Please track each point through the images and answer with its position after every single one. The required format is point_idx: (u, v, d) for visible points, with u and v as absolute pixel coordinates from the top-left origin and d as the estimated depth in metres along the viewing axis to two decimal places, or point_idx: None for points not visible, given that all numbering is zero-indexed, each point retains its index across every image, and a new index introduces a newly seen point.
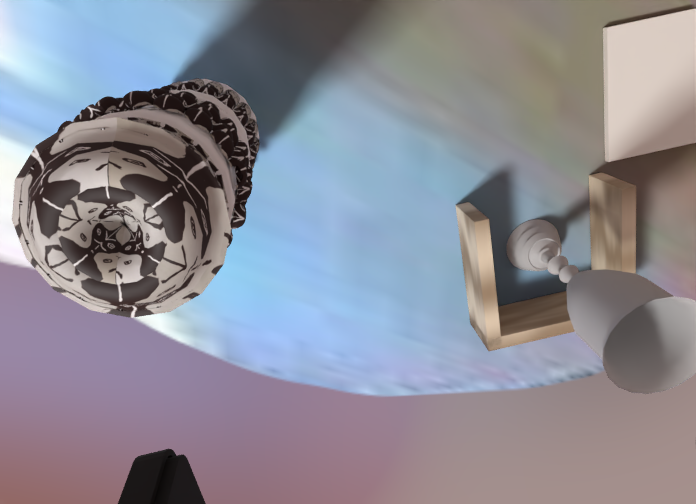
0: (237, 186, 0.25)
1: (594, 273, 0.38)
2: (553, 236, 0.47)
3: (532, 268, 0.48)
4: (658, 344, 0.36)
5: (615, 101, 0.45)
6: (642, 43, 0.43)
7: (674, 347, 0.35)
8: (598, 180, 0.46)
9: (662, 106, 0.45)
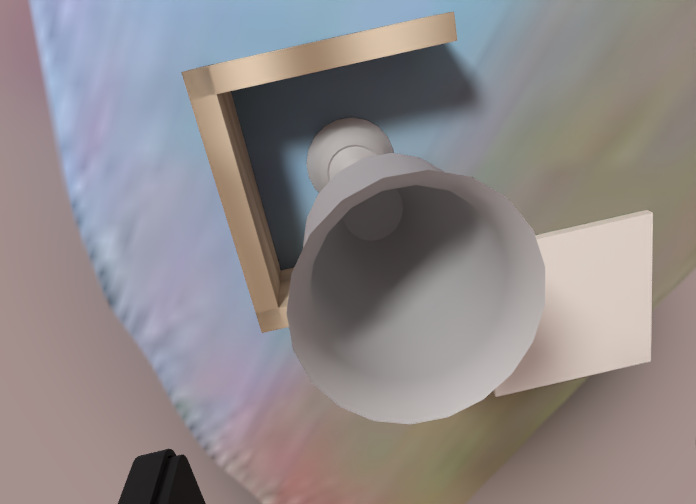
0: None
1: None
2: None
3: (327, 157, 0.28)
4: (343, 334, 0.17)
5: (559, 243, 0.33)
6: (625, 262, 0.34)
7: (357, 359, 0.17)
8: None
9: (544, 306, 0.34)
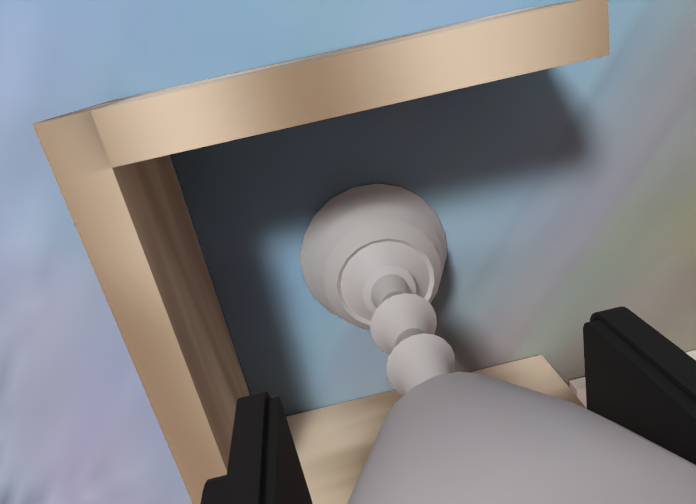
0: None
1: None
2: (430, 300, 0.17)
3: (337, 259, 0.16)
4: None
5: None
6: None
7: None
8: (557, 378, 0.19)
9: None
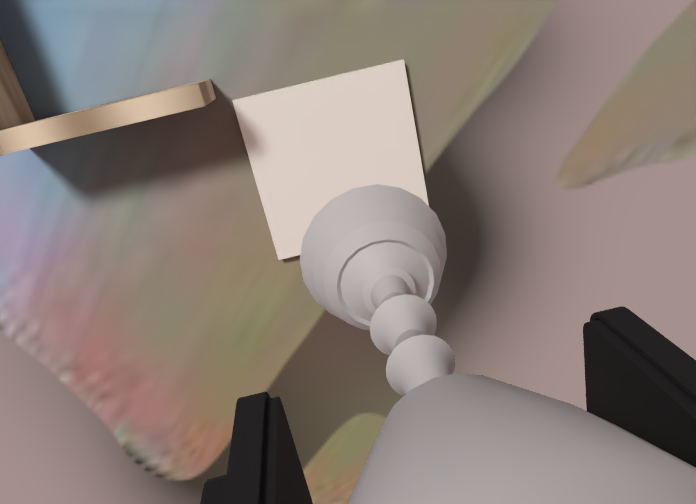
0: None
1: None
2: (430, 301, 0.17)
3: (337, 260, 0.16)
4: None
5: (314, 91, 0.34)
6: (385, 113, 0.34)
7: None
8: (204, 80, 0.32)
9: (310, 160, 0.35)
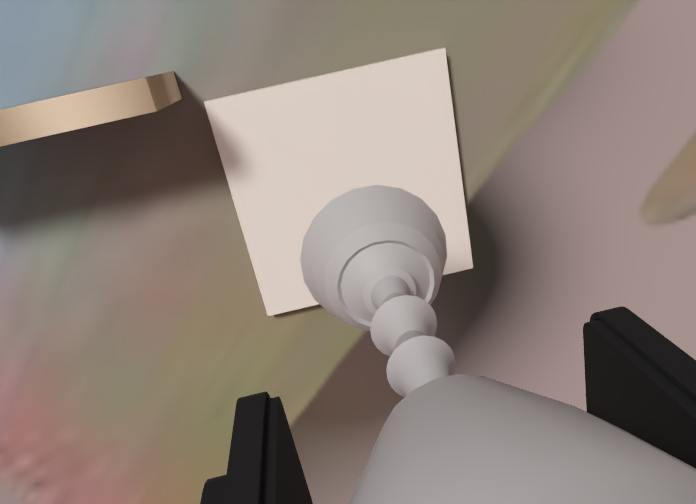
0: None
1: None
2: (431, 302, 0.17)
3: (337, 261, 0.16)
4: None
5: (318, 91, 0.24)
6: (416, 122, 0.25)
7: None
8: (163, 73, 0.22)
9: (312, 185, 0.25)
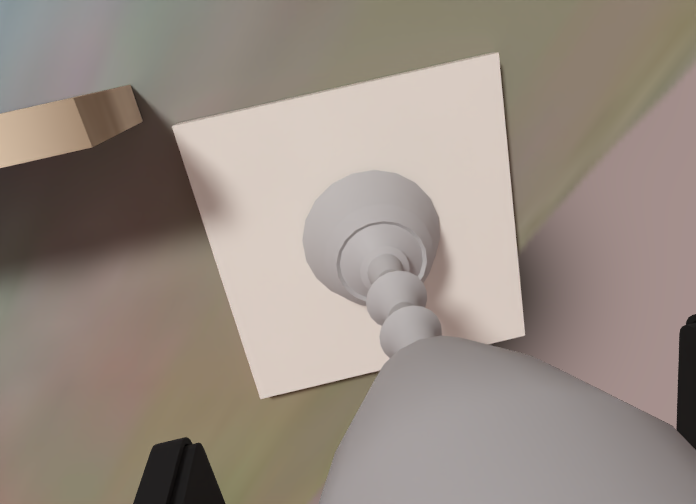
0: None
1: None
2: (423, 279, 0.18)
3: (337, 240, 0.17)
4: None
5: (327, 111, 0.18)
6: (457, 151, 0.19)
7: None
8: None
9: None
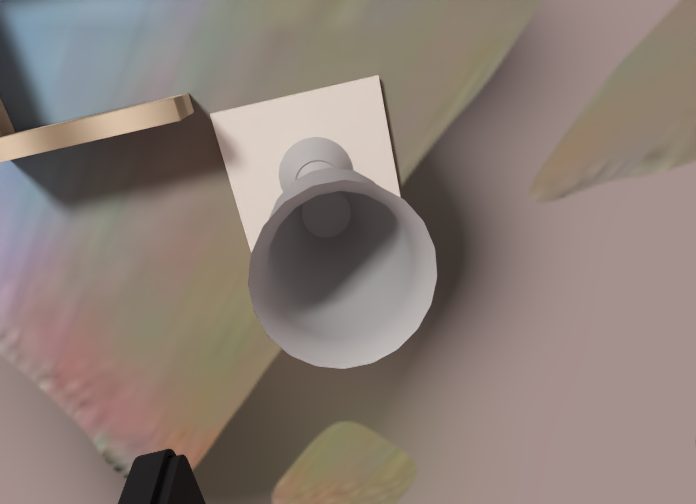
0: None
1: None
2: None
3: (294, 170, 0.34)
4: (296, 306, 0.22)
5: (290, 106, 0.34)
6: (360, 127, 0.35)
7: (306, 324, 0.22)
8: (182, 95, 0.32)
9: None
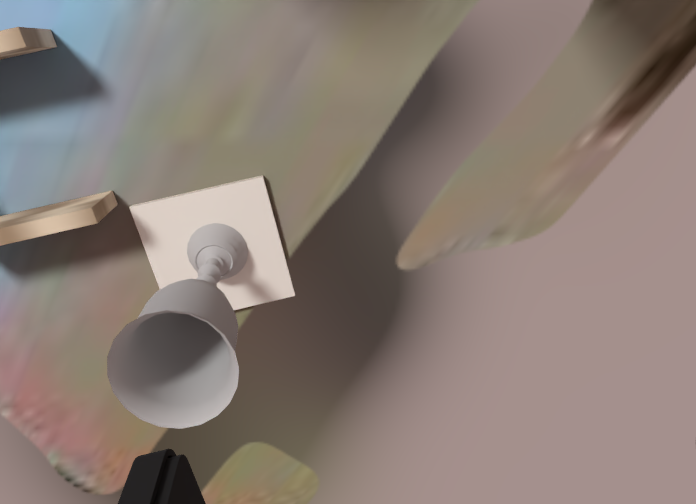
0: None
1: None
2: (234, 268, 0.44)
3: (195, 252, 0.43)
4: (159, 380, 0.32)
5: (193, 200, 0.43)
6: (251, 215, 0.44)
7: (162, 394, 0.31)
8: (104, 195, 0.42)
9: None
